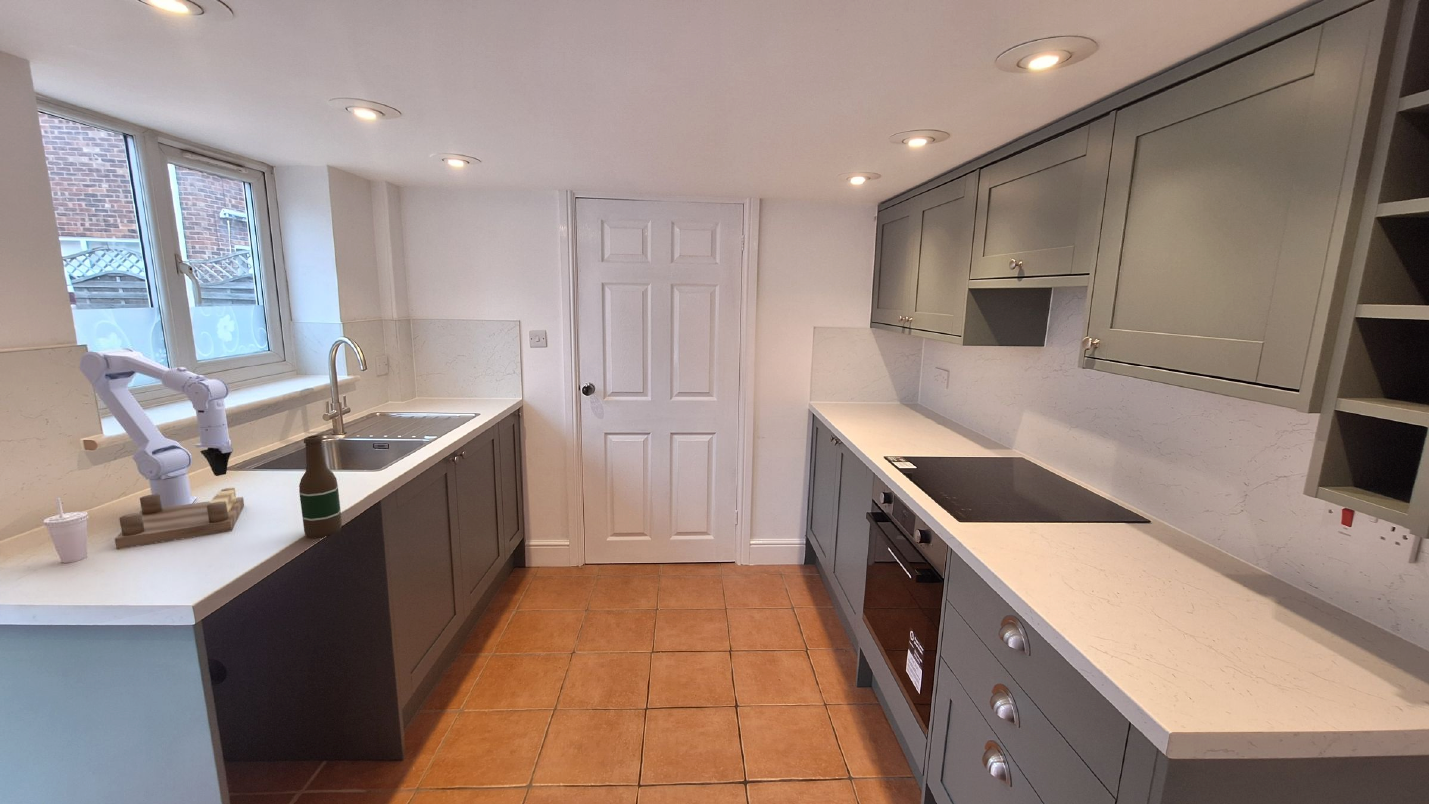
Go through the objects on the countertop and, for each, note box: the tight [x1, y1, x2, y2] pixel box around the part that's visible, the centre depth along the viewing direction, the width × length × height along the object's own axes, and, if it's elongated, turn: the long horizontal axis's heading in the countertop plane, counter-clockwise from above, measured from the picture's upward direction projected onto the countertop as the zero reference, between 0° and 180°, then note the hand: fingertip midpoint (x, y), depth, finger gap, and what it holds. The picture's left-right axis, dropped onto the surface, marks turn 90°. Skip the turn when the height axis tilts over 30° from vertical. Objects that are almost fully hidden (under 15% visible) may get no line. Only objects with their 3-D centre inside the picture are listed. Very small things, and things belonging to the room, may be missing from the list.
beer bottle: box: [298, 435, 343, 539], centre depth 135 cm, size 8×8×24 cm
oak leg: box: [209, 487, 237, 512], centre depth 145 cm, size 12×3×3 cm, turn 30°
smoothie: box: [42, 497, 90, 564], centre depth 120 cm, size 6×6×14 cm
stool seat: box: [114, 494, 245, 550], centre depth 139 cm, size 20×20×6 cm
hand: (220, 474), depth 150 cm, fingers closed
